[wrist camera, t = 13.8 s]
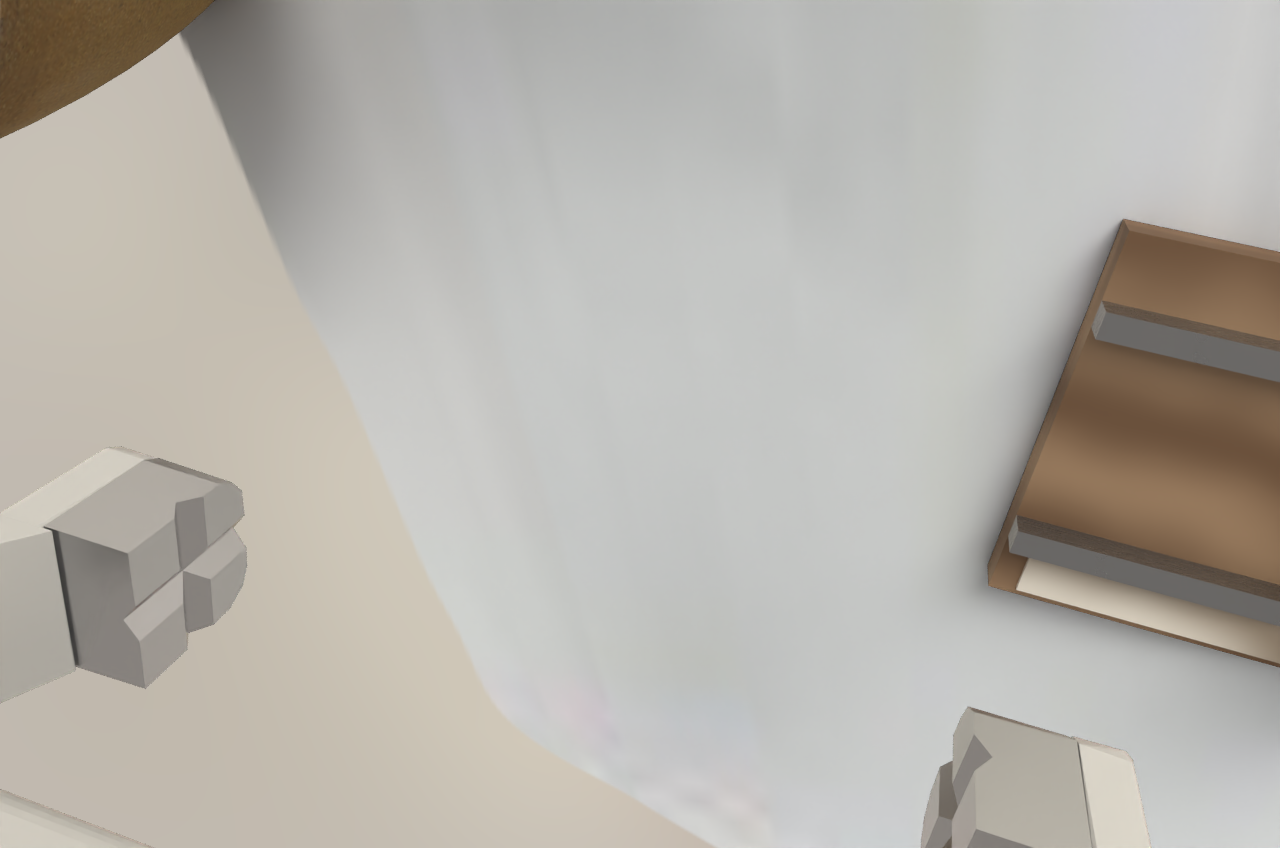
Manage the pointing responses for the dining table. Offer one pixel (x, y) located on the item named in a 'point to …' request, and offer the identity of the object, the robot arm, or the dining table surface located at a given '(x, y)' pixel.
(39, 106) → the plant pot
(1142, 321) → the grey long frame
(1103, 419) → the gauge bench
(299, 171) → the dining table surface
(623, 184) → the dining table surface
